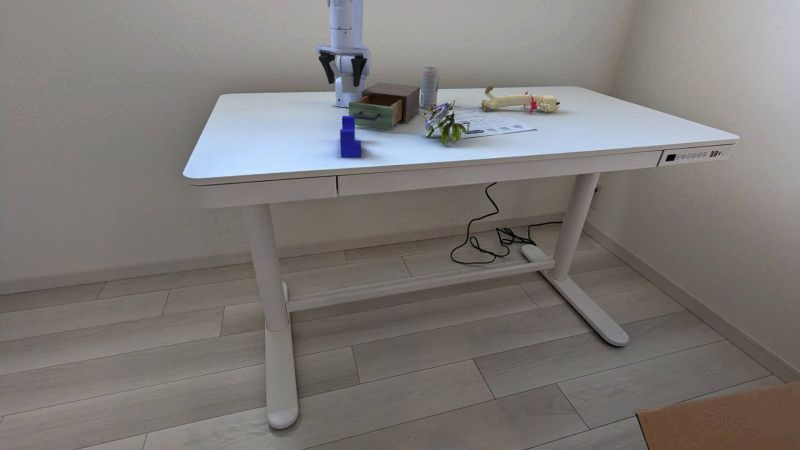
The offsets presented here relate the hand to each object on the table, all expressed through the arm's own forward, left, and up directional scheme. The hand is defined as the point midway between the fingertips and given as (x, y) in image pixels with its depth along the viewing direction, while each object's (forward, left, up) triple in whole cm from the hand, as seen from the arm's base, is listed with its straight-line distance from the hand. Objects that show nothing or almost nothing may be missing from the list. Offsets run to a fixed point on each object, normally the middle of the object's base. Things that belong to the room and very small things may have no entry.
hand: (343, 84), depth 105 cm
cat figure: (+46, +36, -11) cm, 60 cm away
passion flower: (+29, -2, -11) cm, 31 cm away
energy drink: (+17, +27, -11) cm, 34 cm away
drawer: (+9, +1, -10) cm, 13 cm away
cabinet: (+9, +14, -10) cm, 19 cm away
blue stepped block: (+10, -18, -11) cm, 23 cm away
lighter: (0, 0, -2) cm, 2 cm away
